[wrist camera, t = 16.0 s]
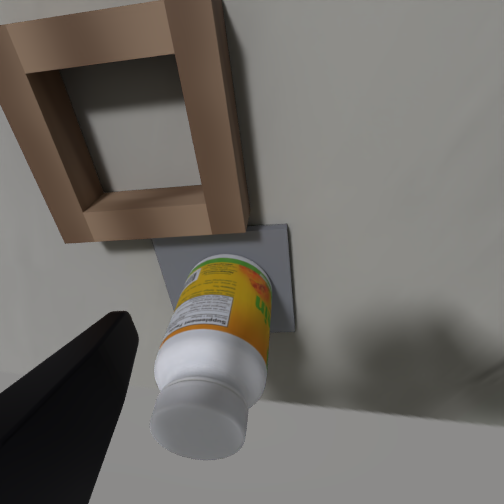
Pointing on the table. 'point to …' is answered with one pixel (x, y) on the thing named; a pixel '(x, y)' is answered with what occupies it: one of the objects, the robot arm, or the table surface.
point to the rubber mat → (242, 244)
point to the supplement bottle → (213, 359)
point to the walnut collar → (72, 141)
